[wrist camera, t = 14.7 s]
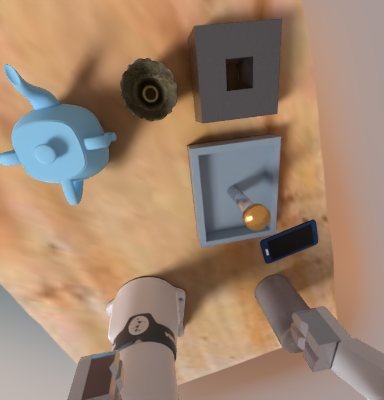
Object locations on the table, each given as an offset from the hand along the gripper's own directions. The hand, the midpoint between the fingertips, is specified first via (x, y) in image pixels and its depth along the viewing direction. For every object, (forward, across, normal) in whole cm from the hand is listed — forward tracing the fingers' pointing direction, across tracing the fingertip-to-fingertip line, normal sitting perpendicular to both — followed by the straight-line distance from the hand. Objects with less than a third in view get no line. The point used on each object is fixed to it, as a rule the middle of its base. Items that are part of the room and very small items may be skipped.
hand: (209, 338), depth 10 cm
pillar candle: (+34, +23, -37) cm, 55 cm away
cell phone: (+34, +26, -23) cm, 49 cm away
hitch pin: (+33, +12, -7) cm, 36 cm away
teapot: (+34, -15, +6) cm, 38 cm away
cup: (+34, -1, +12) cm, 36 cm away
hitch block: (+34, +12, +13) cm, 38 cm away
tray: (+34, +12, -7) cm, 37 cm away
